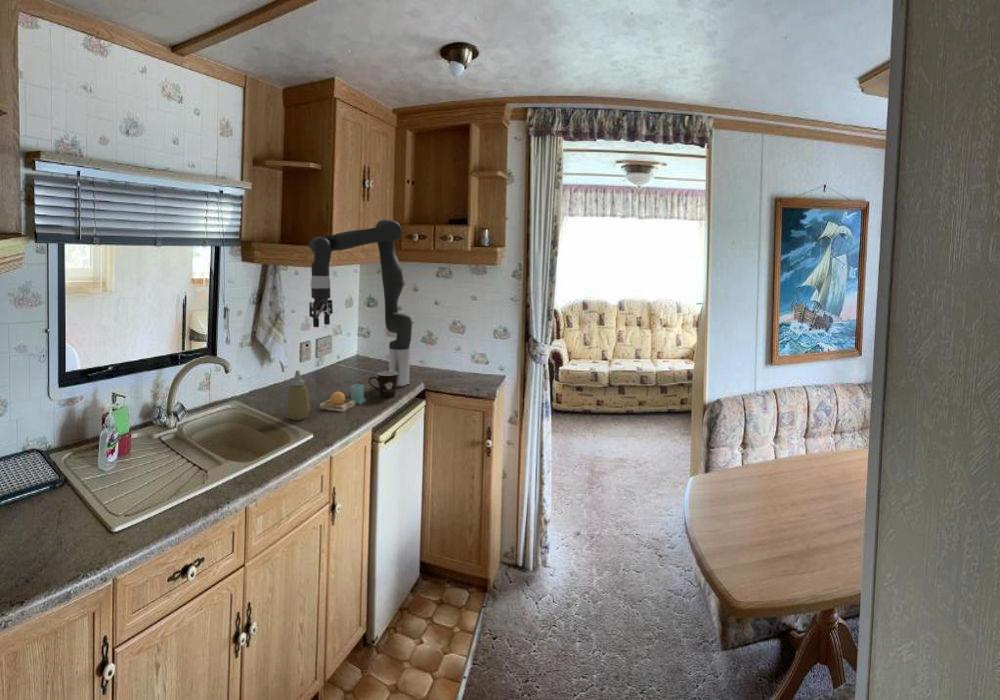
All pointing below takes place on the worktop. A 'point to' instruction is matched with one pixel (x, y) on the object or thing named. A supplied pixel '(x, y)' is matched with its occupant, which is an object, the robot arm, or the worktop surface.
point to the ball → (337, 398)
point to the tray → (342, 407)
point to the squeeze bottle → (298, 399)
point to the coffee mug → (386, 383)
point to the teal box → (357, 393)
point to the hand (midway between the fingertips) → (321, 325)
